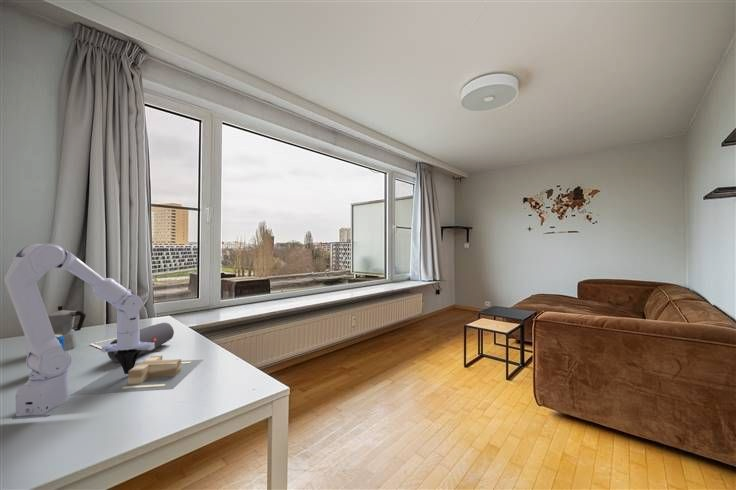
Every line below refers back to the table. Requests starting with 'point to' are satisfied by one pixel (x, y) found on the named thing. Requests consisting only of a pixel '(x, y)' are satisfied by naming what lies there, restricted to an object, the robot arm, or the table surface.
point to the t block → (153, 369)
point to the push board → (119, 383)
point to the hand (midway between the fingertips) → (128, 372)
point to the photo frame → (101, 342)
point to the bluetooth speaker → (150, 337)
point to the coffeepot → (66, 325)
